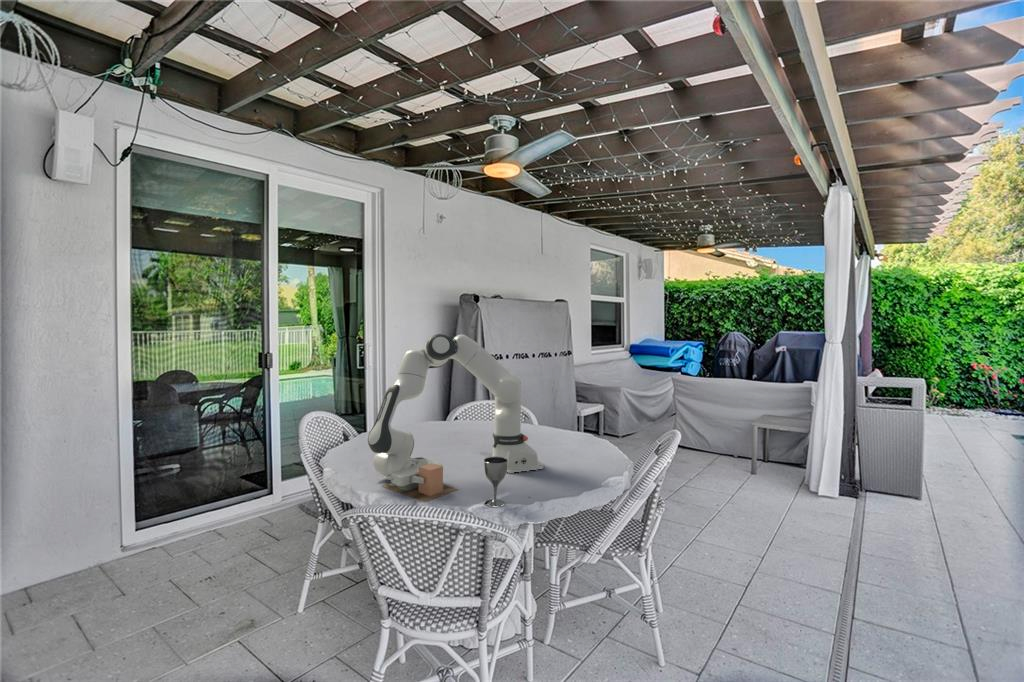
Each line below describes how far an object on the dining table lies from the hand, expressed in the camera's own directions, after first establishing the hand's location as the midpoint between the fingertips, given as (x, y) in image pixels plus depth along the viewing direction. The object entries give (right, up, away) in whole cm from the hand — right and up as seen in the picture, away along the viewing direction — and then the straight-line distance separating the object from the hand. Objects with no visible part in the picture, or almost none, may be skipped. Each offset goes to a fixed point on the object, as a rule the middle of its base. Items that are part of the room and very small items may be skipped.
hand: (432, 478), depth 181 cm
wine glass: (+22, -7, -6) cm, 24 cm away
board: (-6, -6, +5) cm, 9 cm away
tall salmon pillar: (-1, -5, +1) cm, 5 cm away
